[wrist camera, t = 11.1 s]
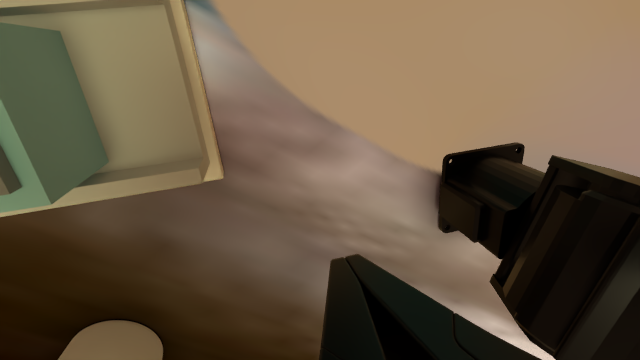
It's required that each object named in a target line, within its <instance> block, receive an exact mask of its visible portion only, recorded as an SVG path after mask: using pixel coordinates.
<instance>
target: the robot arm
mask: <svg viewBox="0 0 640 360" xmlns="http://www.w3.org/2000/svg"><path fill="white" fill-rule="evenodd" d="M516 149H517V151H516ZM523 155H524V145H523V144H520V143H511V144H505V145H498V146H493V147H487V148H481V149H475V150H469V151H464V152H458V153H452V154H448V155H446V156H445V157H444V159H443V165H442V182H441V186H440V199H439V229H440V230H441V231H442V232H444V233H449V232H454V231H460V232H461V233H463V234H464V235H465V236H466V237H468V238H469V239H470V240H471V241H472V242H474V243H476V242H479V243H480V244H481V245H482V246H484V247H485V248H486V249H487V250H489V251H490V252H491V253H492V254H494V255H495V256H496V257H498V258H499V259H502V261H501V263H500V265H499V267H498V269H497V271H496V273H495V274H493V275H492V277H491V279H490V283H491V284H492V286H493V288H494V289H495V291H496V292H497V294H498V295H499V297H500V298H501V300H502V301H503V303H504V304H505V306H506V307H507V309H508V310H509V312H510V314H511V315H512V317H513V318H514V320H515V321H516V323H517V324H518V326H519V327H520V329H521V330H522V331H523V332H524V334H525V335H526V336H527V337H528V339H529V340H530V341H531V342H532V343H534V344H536V345H537V346H539V347H540V348H541V349H543V350H544V351H545V352H547V353H548V354H550V355H551V356H553V357H554V359H556V360H640V178H639V177H636V176H633V175H629V174H626V173H623V172H619V171H616V170H612V169H609V168H605V167H601V166H596V165H592V164H588V163H583V162H579V161H575V160H570V159H566V158H562V157H557V156H554V155H552V157H551V158H550V161H549V162H548V164H549V167H548V169H547V171H546V173H543V172H541V171H538V170H536V169H533V168H531V167H528V166H525V165H523V164H522V161H523ZM451 159H452V162H451V163H449V161H450V160H451ZM446 225H447V226H446ZM445 226H446V227H445ZM319 360H541V359H539V358H537V357H535V356H533V355H531V354H529V353H527V352H525V351H523V350H521V349H519V348H518V347H516V346H514V345H512V344H510V343H508V342H506V341H504V340H502V339H500V338H498V337H496V336H495V335H493V334H491V333H489V332H487V331H485V330H484V329H482V328H480V327H479V326H477V325H475V324H473V323H472V322H470V321H468V320H467V319H465V318H463V317H462V316H460V315H458V314H457V313H454V312H453V311H452V310H450V309H448V308H447V307H445V306H443V305H442V304H440V303H438V302H437V301H435V300H433V299H432V298H430V297H428V296H427V295H425V294H424V293H422V292H420V291H419V290H417V289H415V288H414V287H412V286H410V285H409V284H407V283H405V282H404V281H402V280H400V279H399V278H397V277H396V276H394V275H392V274H391V273H389V272H387V271H386V270H384V269H382V268H381V267H379V266H377V265H376V264H374V263H372V262H371V261H369V260H368V259H366V258H364V257H363V256H361V255H359V254H354V255H350V256H346V257H345V258H344V257H341V258H336V259H332V260H331V264H330V272H329V281H328V289H327V298H326V307H325V315H324V324H323V332H322V341H321V350H320V356H319Z"/></svg>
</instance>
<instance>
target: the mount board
mask: <svg viewBox="0 0 640 360" xmlns="http://www.w3.org/2000/svg"><path fill="white" fill-rule="evenodd" d="M0 22H2V23H8V24H15V25H22V26H29V27H36V28H43V29H49V30H56V31H60V33H61V35H62V38H63V41H64V43H65V46H66V49H67V51H68V54H69V57H70V59H71V62H72V65H73V67H74V70H75V73H76V75H77V78H78V81H79V83H80V86H81V89H82V91H83V94H84V96H85V99H86V102H87V104H88V107H89V110H90V112H91V115H92V118H93V120H94V123H95V126H96V128H97V131H98V134H99V136H100V139H101V142H102V144H103V147H104V150H105V152H106V155H107V158H108V160H109V163H107V164H106V165H105V166H103V167H102V168H101V169H99V170H98V171H96V172H95V173H94V174H92V175H91V176H90V177H88V178H87V179H86V180H84V181H83V182H82V183H80V184H79V185H78V186H76V187H75V188H73V189H72V190H71V191H69V192H68V193H67V194H65V195H64V196H63V197H61V198H60V199H59V200H57V201H56V202H54V203H53V204H52V205H47V206H41V207H34V208H28V209H22V210H15V211H9V212H3V213H0V217H3V216H9V215H15V214H21V213H27V212H33V211H39V210H45V209H51V208H57V207H63V206H69V205H75V204H81V203H87V202H93V201H99V200H106V199H112V198H118V197H124V196H130V195H136V194H142V193H148V192H154V191H160V190H166V189H172V188H178V187H184V186H190V185H196V184H202V183H203V182H205V181H211V180H217V179H223V176H224V170H223V166H222V162H221V158H220V153H219V149H218V145H217V140H216V136H215V132H214V128H213V123H212V119H211V115H210V111H209V106H208V102H207V98H206V93H205V89H204V85H203V81H202V76H201V72H200V68H199V64H198V59H197V55H196V51H195V47H194V42H193V38H192V34H191V29H190V25H189V21H188V17H187V12H186V8H185V4H184V0H0Z"/></svg>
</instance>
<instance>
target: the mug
mask: <svg viewBox="0 0 640 360" xmlns="http://www.w3.org/2000/svg"><path fill="white" fill-rule="evenodd" d="M162 357H163V346H162V343H161V340H160V339H159V337H158V336H157V335H156V334H155V333H154V332H153V331H152V330H151V329H149V328H147V327H146V326H144V325H141V324H139V323H135V322H131V321H125V320H110V321H104V322H99V323H96V324H93V325H91V326H89V327H87V328H85V329H83V330H82V331H80V332H79V333H78V334H77V335H76V336H75V337H74V338H73V339H72V340H71V342H70V343H69V344H68V346H67V347H66V349H65V350H64V352H63V353H62V355H61V356H60V357H59V359H58V360H162Z"/></svg>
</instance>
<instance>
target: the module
mask: <svg viewBox="0 0 640 360" xmlns="http://www.w3.org/2000/svg"><path fill="white" fill-rule="evenodd" d="M107 163H109V160H108V158H107V155H106V152H105V150H104V147H103V144H102V142H101V139H100V136H99V134H98V131H97V128H96V126H95V123H94V120H93V118H92V115H91V112H90V110H89V107H88V104H87V102H86V99H85V96H84V94H83V91H82V89H81V86H80V83H79V81H78V78H77V75H76V73H75V70H74V67H73V65H72V62H71V59H70V57H69V54H68V51H67V49H66V46H65V43H64V41H63V38H62V35H61V33H60V31H56V30H49V29H43V28H36V27H29V26H22V25H15V24H8V23H2V22H0V213H3V212H9V211H15V210H22V209H28V208H34V207H41V206H47V205H52V204H53V203H54V202H56V201H57V200H59V199H60V198H61V197H63V196H64V195H65V194H67V193H68V192H69V191H71V190H72V189H73V188H75V187H76V186H78V185H79V184H80V183H82V182H83V181H84V180H86V179H87V178H88V177H90V176H91V175H92V174H94V173H95V172H96V171H98V170H99V169H101V168H102V167H103V166H105V165H106V164H107Z"/></svg>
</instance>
